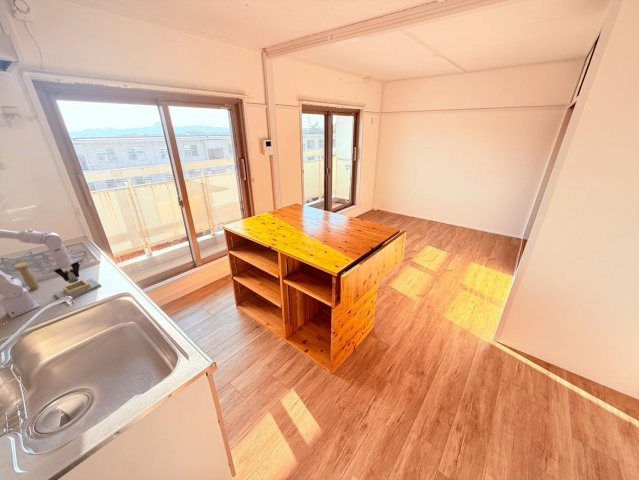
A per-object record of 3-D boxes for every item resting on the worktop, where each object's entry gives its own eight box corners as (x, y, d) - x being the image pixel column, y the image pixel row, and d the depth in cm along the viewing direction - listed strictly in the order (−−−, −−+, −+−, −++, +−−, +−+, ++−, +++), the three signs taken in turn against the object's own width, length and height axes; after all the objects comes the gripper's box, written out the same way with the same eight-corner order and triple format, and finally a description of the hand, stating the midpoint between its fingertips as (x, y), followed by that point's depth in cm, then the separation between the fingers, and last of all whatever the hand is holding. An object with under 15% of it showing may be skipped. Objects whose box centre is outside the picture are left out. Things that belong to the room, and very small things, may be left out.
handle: (30, 292, 134) (15, 268, 127) (27, 288, 137) (13, 264, 131) (42, 287, 137) (28, 264, 131) (39, 284, 141) (26, 261, 134)
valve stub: (70, 283, 130) (64, 273, 127) (67, 282, 132) (61, 271, 129) (79, 280, 133) (74, 269, 130) (76, 278, 135) (71, 267, 132)
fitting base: (63, 302, 126) (60, 297, 124) (54, 295, 131) (51, 290, 130) (101, 286, 138) (98, 281, 137) (91, 280, 144) (89, 275, 142)
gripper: (75, 248, 133) (86, 270, 139) (38, 260, 122) (51, 283, 128) (81, 251, 130) (91, 273, 136) (43, 263, 119) (56, 287, 124)
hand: (72, 278), depth 131 cm, fingers closed on valve stub, 4 cm apart
